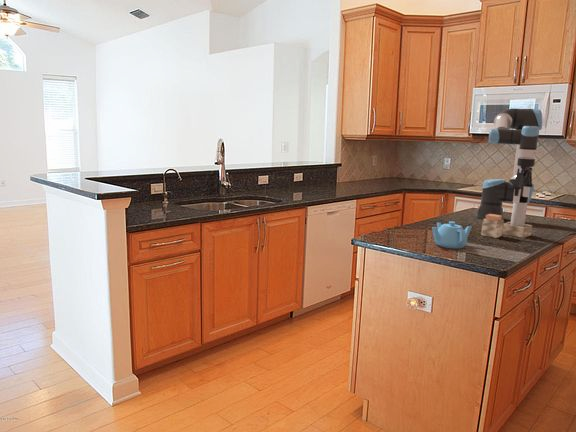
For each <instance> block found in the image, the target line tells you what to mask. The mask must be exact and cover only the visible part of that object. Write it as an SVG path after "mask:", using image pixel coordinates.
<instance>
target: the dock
mask: <svg viewBox="0 0 576 432" xmlns="http://www.w3.org/2000/svg"><path fill="white" fill-rule="evenodd" d="M510 224H511V221H507V222H505V220H504V219H503V220H501V221H498V222H497V221H491V220H485V219H482V223H481V231H480V236H483V237H484V236H485V237H489V238H495V239H497V238H499V237H502V236H503V235H505V236H510V237H511V236H512V237H517V238H523V239H525V238H527V237H530V236H532V229H533V225H532V224H528V223H527V224H526V223H525V224H524V227H518V226H513V225H510Z"/></svg>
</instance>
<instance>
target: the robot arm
mask: <svg viewBox="0 0 576 432" xmlns="http://www.w3.org/2000/svg"><path fill="white" fill-rule="evenodd" d="M493 125H494V128H491V129H490V130H489V134H488V142H489V143H490V144H495V145H497V144H498V145H516V150H515V157H514V165H513V172H512V176H511V178H509V180H508V181H506V179H505V178H493V179H491V178H490V179H485V180H484V181H483V184H482V187H481V189H482V192H481V198H480V199H481V200H480V205H479V207H478V209H477V211H476V213H475V217H476V218H477V219H480V220H481V219H482V220H483V219H485V218H486V215H488V214H495V215H501V216H502V218H501V220H504V217H505V215H504V210H503V203H512V204H513V203H514V202H516V203H519V200H520V196H523V197H528V202H527V204H529V203H530V201H531V199H532V196H533V192H534V189H535V184H534V183H533V172H532V171H533V167H535V163H536V159H535V158H536V155H537V154H538V151H537V147H538V142H539V141H538V139H539V135H540V131H542V128H543V112H542V110H541V109H540V108H539V109H537V108H508V109H505V110H501V111H500V112H499V113H498V114H496V115H495V117H494V119H493Z"/></svg>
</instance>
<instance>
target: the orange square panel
mask: <svg viewBox="0 0 576 432" xmlns="http://www.w3.org/2000/svg"><path fill="white" fill-rule="evenodd" d="M501 218H502V216H501V215H495V214H488V215H486V218H485V220H491V221H497V222H498V221H501Z"/></svg>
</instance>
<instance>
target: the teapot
mask: <svg viewBox="0 0 576 432" xmlns="http://www.w3.org/2000/svg"><path fill="white" fill-rule="evenodd" d="M472 227H473V226H470V225H468V226H466V227H465V229H464V228H463V226H462V225H461V224H460V225H459V224H456V221H451V220H450V221H448V223H443V224H442V223H441V222H436V226H432V227H431V230H432V237H433V240H434V244H436V245H437V246H439V247H442V248H446V249H457V250H458V249H463V248H464V247H465V246H466V245H467V244H468V237H469V236H470V233H471V230H472Z"/></svg>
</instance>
